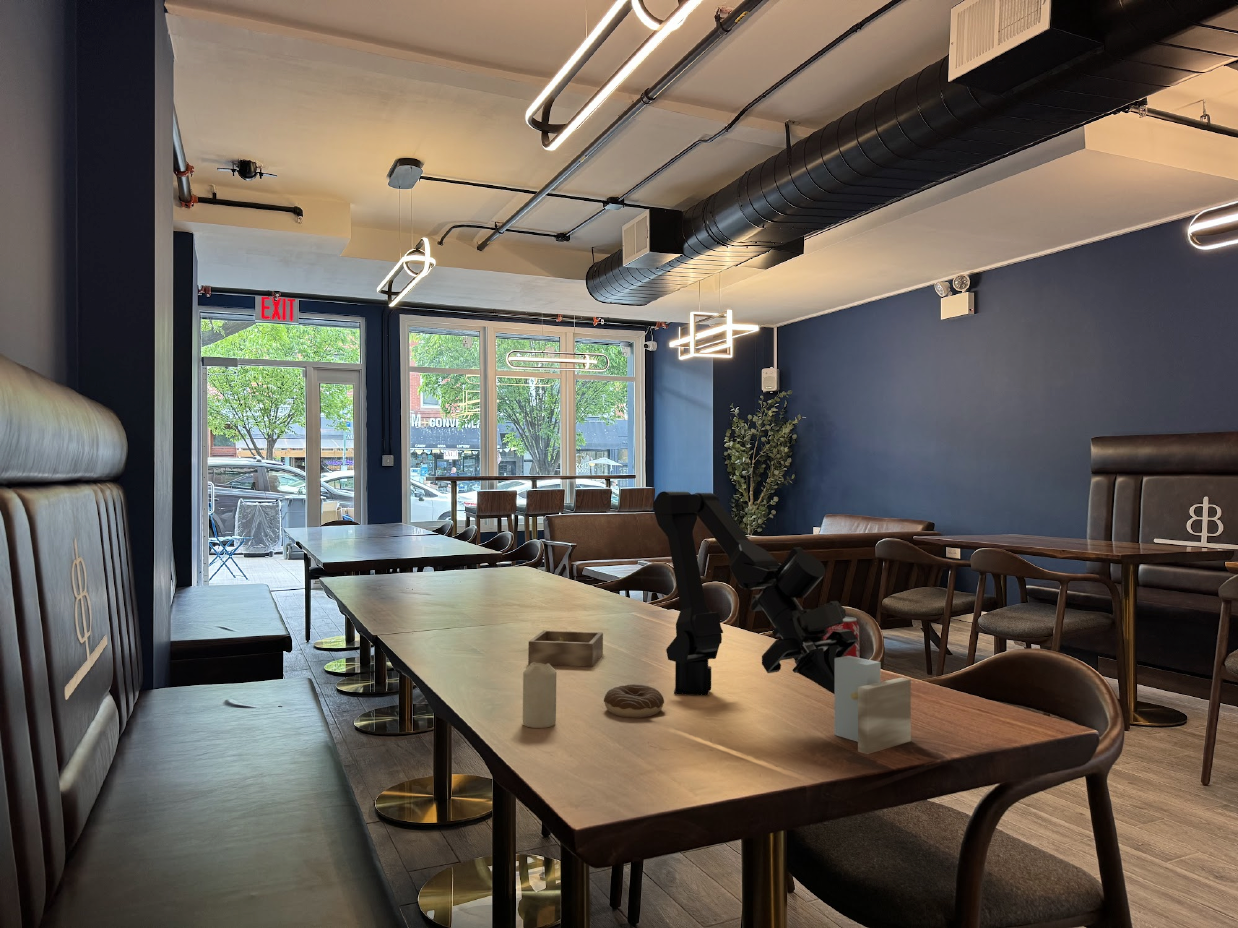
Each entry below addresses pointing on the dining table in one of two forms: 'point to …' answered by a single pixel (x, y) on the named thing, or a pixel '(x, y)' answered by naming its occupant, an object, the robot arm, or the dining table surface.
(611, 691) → the donut
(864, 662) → the light gray rectangular block
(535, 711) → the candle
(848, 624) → the soda can
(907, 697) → the beige bookend
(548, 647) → the brown open rectangular box
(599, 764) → the dining table surface
